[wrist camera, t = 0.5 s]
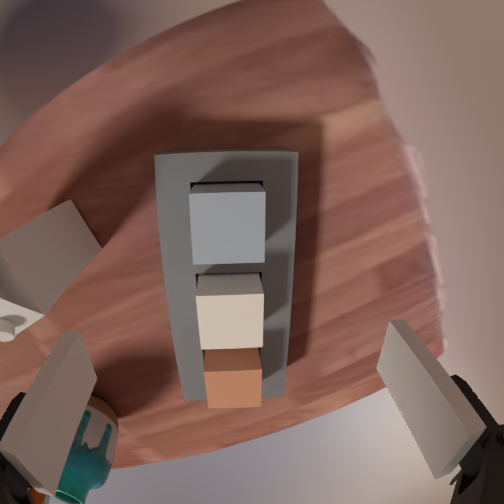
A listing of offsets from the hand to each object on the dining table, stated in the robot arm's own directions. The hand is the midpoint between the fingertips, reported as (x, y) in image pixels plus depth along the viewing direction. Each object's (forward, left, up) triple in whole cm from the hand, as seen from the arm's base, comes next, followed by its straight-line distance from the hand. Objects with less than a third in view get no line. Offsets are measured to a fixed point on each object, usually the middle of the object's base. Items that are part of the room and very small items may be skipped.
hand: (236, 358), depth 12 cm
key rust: (0, -17, -20) cm, 27 cm away
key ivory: (0, -8, -20) cm, 22 cm away
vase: (-23, -31, -24) cm, 46 cm away
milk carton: (-19, -2, -24) cm, 31 cm away
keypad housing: (0, -8, -24) cm, 25 cm away
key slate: (0, +1, -20) cm, 20 cm away
